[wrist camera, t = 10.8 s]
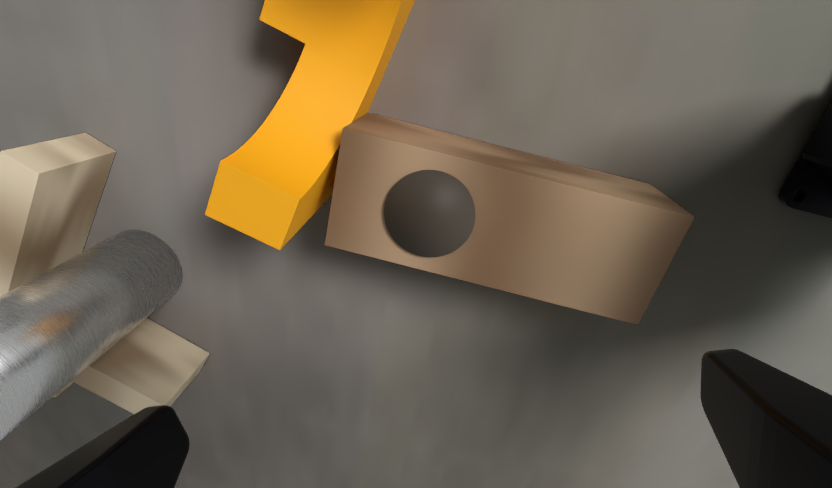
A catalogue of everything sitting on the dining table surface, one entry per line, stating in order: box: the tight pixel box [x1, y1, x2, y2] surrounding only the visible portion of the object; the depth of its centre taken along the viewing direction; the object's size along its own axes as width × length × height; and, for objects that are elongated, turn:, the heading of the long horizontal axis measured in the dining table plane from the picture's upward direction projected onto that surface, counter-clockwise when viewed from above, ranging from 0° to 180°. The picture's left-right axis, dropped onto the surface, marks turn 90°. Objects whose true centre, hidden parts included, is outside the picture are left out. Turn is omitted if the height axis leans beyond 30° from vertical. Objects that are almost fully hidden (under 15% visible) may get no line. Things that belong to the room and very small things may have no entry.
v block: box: [0, 133, 210, 414], centre depth 22 cm, size 10×13×4 cm
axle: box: [0, 230, 182, 441], centre depth 17 cm, size 4×4×12 cm
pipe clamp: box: [205, 0, 415, 250], centre depth 15 cm, size 12×4×6 cm, turn 154°
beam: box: [325, 113, 695, 325], centre depth 17 cm, size 12×4×4 cm, turn 77°
